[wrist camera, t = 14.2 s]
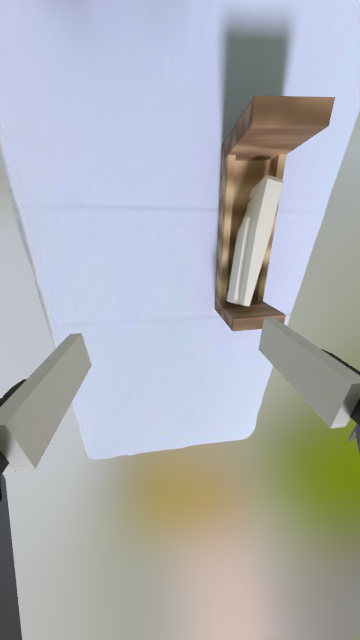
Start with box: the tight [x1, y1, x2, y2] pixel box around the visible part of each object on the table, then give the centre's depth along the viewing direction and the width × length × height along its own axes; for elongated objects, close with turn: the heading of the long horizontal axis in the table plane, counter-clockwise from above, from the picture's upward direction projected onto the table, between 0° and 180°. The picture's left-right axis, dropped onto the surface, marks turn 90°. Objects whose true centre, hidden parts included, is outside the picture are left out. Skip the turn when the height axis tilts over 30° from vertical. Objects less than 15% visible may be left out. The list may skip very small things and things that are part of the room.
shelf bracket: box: [226, 175, 283, 306], centre depth 42 cm, size 6×25×13 cm, turn 170°
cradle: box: [215, 96, 335, 331], centre depth 39 cm, size 37×12×14 cm, turn 2°
